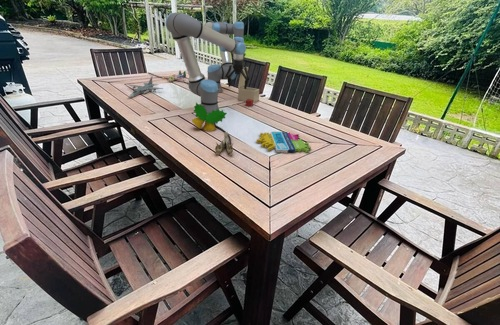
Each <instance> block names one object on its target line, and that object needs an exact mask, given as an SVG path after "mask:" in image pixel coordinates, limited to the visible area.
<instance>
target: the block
mask: <svg viewBox="0 0 500 325" xmlns="http://www.w3.org/2000/svg"><path fill="white" fill-rule="evenodd" d="M245 106H246V107H249V108H250V107H253V106H254V103H253V100H251V99H247V100H246V102H245Z"/></svg>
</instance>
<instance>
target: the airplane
mask: <svg viewBox="0 0 500 325" xmlns="http://www.w3.org/2000/svg"><path fill="white" fill-rule="evenodd" d="M153 77H154V75H151V76H150V78H149V80H148V81H147V82H148V83H147V82H143V85H136V84H128V86H129V87H132V88H131V90H133V92H131V93H130V94H129V95H128V97H127V99H132V98H135V97H137V96H139V95H140V94H144V95H145V94H147V93H149V92H150V91H151V92H152V93H154V92H155V91H157V90H163V89H164V87H155V86H160V83H159V84H158V83H153ZM134 89H135V90H134Z"/></svg>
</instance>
